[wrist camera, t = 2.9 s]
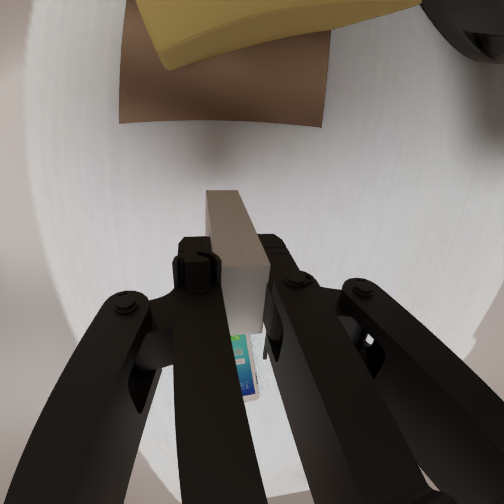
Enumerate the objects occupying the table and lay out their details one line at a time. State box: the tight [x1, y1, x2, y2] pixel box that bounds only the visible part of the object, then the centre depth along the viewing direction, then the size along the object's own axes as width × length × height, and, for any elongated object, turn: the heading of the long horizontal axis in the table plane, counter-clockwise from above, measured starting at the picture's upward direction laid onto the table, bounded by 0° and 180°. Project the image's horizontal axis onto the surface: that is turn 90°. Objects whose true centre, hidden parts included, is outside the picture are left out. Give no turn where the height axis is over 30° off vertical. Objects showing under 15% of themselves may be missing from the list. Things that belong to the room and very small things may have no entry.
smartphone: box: [230, 334, 259, 402], centre depth 29 cm, size 8×1×15 cm
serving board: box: [119, 0, 331, 128], centre depth 13 cm, size 16×13×1 cm
